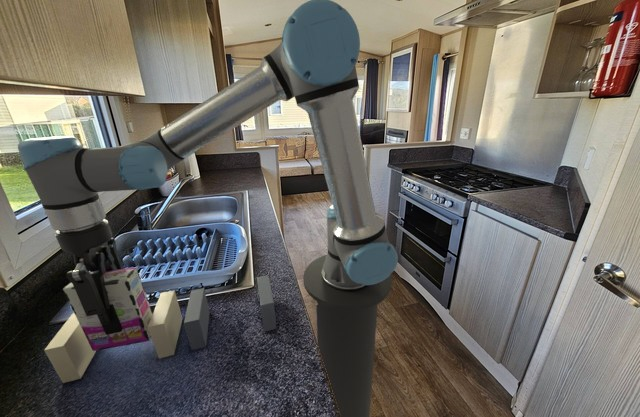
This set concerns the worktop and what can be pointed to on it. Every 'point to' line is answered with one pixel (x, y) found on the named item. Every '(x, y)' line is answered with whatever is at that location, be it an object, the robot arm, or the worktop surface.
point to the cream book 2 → (165, 324)
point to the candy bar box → (117, 310)
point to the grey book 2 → (266, 303)
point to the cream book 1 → (70, 351)
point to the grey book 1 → (197, 319)
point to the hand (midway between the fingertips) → (119, 321)
